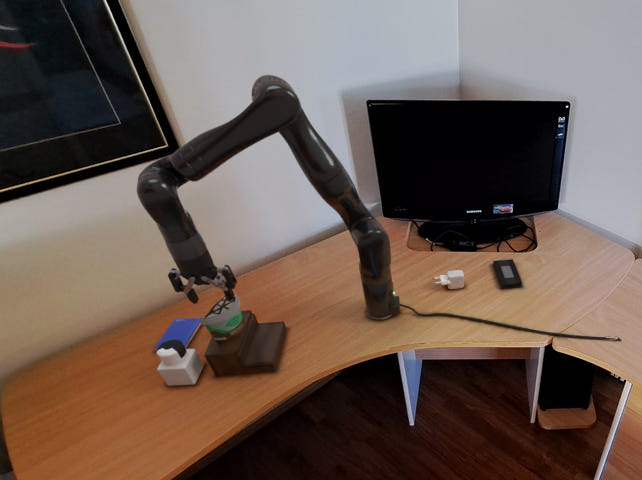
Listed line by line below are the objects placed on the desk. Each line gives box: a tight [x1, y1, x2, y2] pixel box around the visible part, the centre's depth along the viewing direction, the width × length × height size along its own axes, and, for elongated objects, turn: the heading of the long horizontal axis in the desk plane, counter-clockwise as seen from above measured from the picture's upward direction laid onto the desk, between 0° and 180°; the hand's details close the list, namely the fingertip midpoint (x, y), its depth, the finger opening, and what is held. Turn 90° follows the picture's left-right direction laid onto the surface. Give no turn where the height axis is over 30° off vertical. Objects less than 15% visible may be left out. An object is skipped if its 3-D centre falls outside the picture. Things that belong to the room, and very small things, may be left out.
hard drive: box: [153, 318, 202, 352], centre depth 134 cm, size 2×8×12 cm
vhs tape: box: [492, 258, 523, 290], centre depth 162 cm, size 8×14×2 cm, turn 11°
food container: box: [198, 293, 246, 342], centre depth 121 cm, size 12×6×10 cm, turn 169°
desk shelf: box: [203, 309, 287, 378], centre depth 128 cm, size 16×17×9 cm
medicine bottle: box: [155, 340, 205, 387], centre depth 120 cm, size 7×7×12 cm
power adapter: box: [431, 269, 465, 290], centre depth 155 cm, size 11×5×6 cm, turn 102°
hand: (213, 300), depth 117 cm, fingers open, 8 cm apart
